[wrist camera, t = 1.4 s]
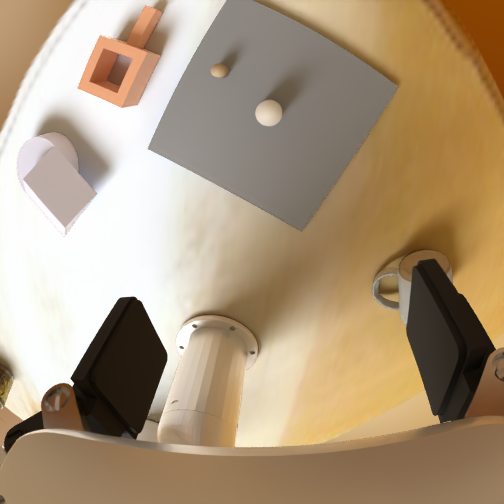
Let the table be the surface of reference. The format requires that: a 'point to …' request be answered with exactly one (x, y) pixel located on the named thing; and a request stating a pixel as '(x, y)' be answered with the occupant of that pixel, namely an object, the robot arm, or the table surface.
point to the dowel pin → (219, 70)
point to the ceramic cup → (5, 384)
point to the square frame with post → (137, 71)
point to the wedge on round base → (54, 179)
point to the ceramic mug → (407, 279)
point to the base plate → (303, 128)
